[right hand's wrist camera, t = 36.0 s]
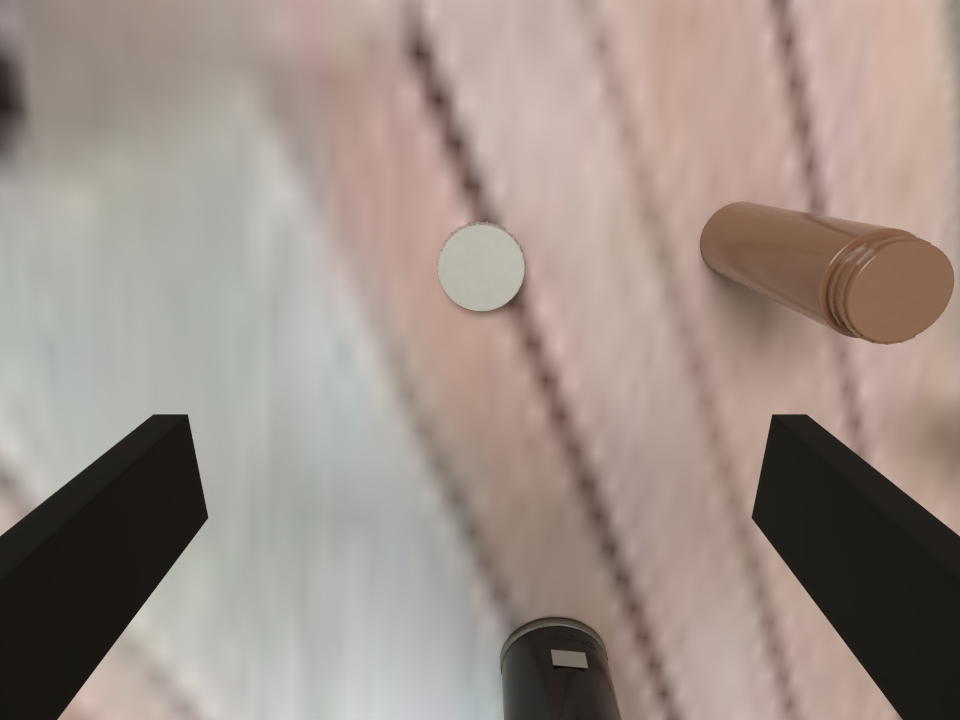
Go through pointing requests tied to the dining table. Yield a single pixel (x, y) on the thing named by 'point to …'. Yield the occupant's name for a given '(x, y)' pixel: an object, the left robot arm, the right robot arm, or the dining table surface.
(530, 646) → the left robot arm
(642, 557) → the dining table surface
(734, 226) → the jar
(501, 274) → the lid
